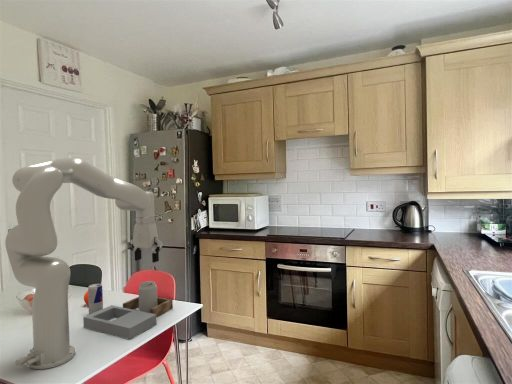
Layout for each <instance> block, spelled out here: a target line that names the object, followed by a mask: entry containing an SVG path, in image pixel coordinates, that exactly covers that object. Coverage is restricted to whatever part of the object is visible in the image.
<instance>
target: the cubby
mask: <svg viewBox="0 0 512 384" xmlns="http://www.w3.org/2000/svg"><path fill="white" fill-rule="evenodd" d="M157 303H158V305H157V306H155V307H153V308H151V309H150V313H152V314H156V318H158V317H160V316H162V315H163V314H164V315H165V314H166V313H167V312H170V311H171V310H173V308H174V306H173V305H174V304H173V303H174V302H173V299H171V298H165V297H161V296H160V297H159V296H157ZM122 307H123V308H128V309H133V310H137V308H138V309H139V296H137V297H135V298H132V299H130V300H128V301H125V302H123V303H122Z"/></svg>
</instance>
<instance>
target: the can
mask: <svg viewBox="0 0 512 384" xmlns="http://www.w3.org/2000/svg"><path fill="white" fill-rule="evenodd" d="M138 297H139V307H138V311H142V312H147V313H150V309H151V308H153V307H155V306H157V305H158V303H157V297H158V285H157V284H156V281H153V280H148V281H147V280H146V281H143V282H141V283H139V287H138Z"/></svg>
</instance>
